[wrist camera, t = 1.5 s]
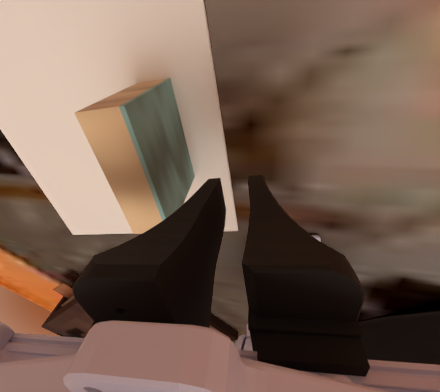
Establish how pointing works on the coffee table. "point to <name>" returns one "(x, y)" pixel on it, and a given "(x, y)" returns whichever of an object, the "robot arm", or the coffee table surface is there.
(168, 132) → the tile
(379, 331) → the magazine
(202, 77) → the mat
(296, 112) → the coffee table surface
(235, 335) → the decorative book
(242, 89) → the coffee table surface
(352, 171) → the coffee table surface
